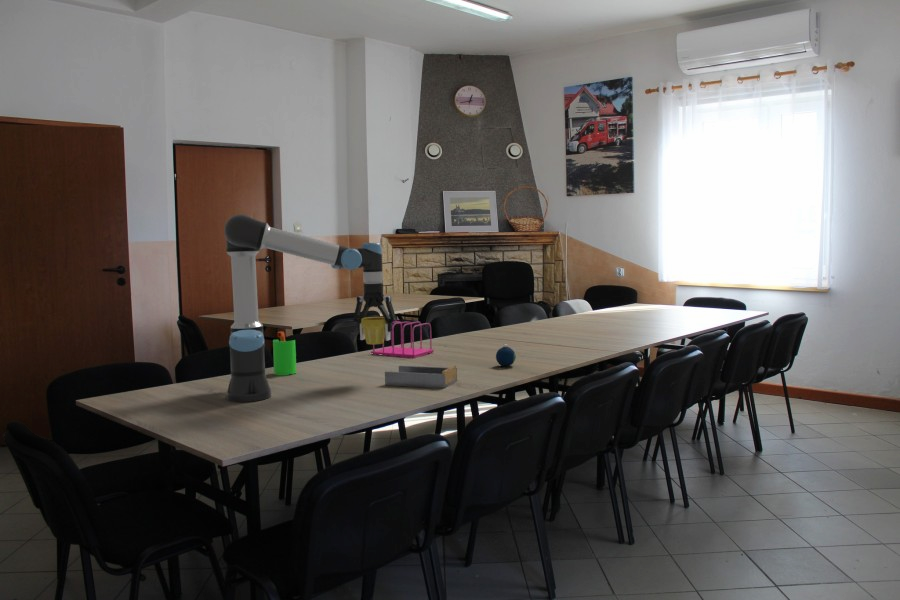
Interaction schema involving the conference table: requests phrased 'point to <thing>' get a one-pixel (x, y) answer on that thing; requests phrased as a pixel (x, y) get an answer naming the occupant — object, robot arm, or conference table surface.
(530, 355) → the conference table surface
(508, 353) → the christmas ornament
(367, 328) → the plant pot
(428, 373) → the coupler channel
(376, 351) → the file sorter
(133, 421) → the conference table surface
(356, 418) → the conference table surface
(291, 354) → the green cylindrical container
